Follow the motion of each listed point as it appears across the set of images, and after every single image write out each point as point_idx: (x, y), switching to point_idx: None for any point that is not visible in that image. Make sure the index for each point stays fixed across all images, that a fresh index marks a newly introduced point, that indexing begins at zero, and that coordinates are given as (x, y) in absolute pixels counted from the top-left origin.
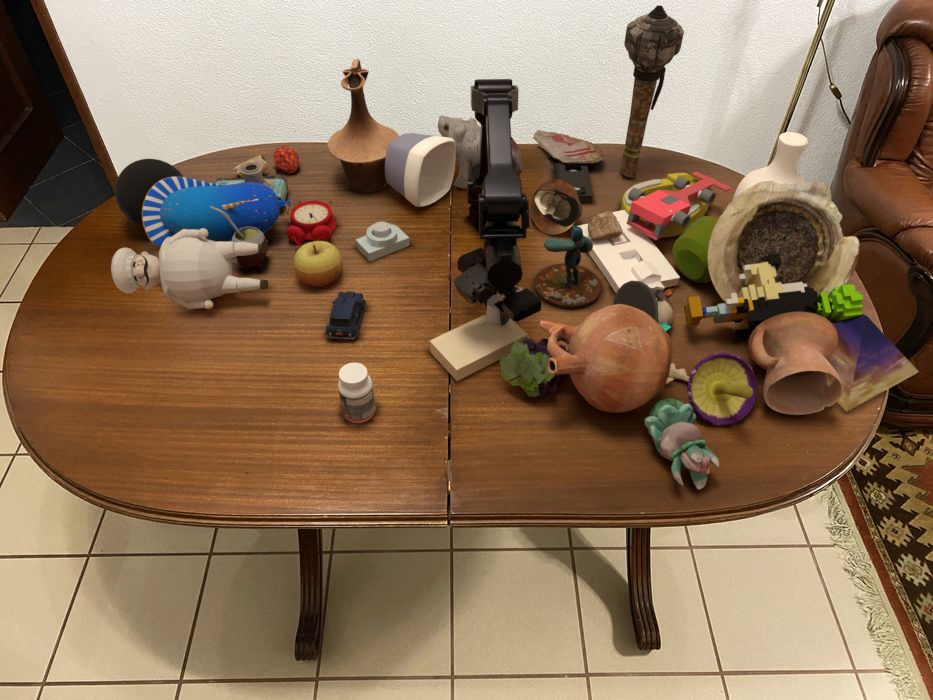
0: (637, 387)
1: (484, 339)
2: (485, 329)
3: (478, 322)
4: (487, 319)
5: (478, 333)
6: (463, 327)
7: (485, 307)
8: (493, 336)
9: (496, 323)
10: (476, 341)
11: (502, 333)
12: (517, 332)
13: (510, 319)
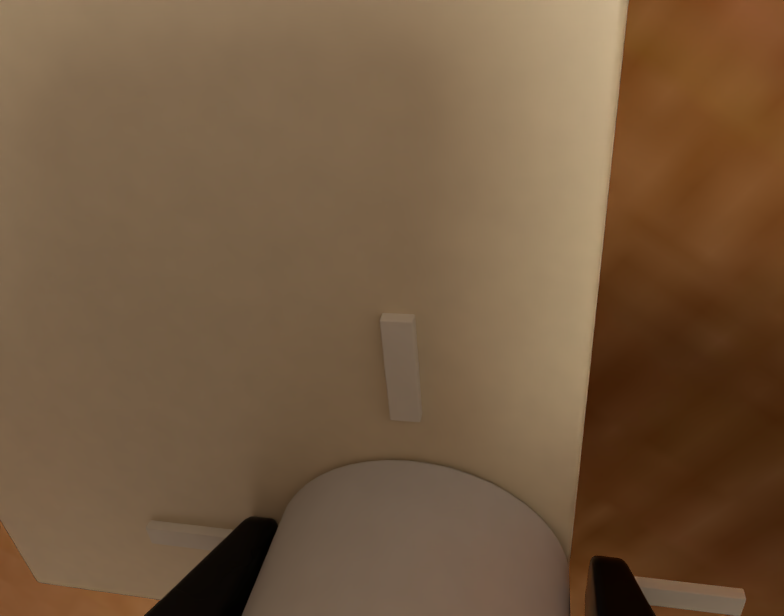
0: None
1: (59, 190)
2: (274, 333)
3: (477, 345)
4: (444, 471)
5: (228, 191)
6: (532, 28)
7: (647, 609)
8: (93, 332)
9: (291, 502)
10: (37, 34)
11: (119, 441)
12: (89, 545)
13: None
